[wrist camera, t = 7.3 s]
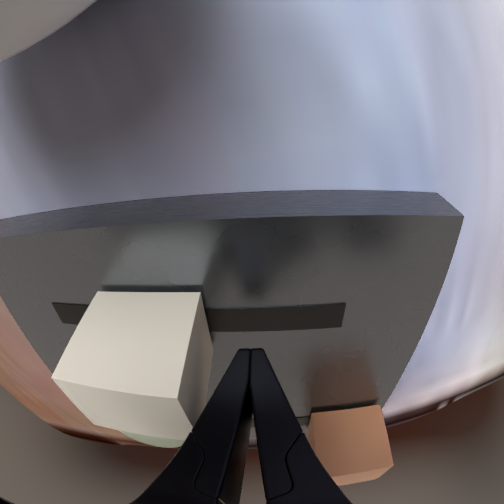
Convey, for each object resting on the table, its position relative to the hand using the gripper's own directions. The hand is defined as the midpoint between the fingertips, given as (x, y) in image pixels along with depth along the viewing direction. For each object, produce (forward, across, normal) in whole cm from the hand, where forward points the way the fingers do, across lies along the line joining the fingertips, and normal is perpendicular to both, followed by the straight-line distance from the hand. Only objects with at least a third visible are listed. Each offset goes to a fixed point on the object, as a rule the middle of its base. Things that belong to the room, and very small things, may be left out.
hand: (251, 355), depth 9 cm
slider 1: (+1, +4, 0) cm, 4 cm away
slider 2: (+1, -5, +9) cm, 10 cm away
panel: (+4, +3, +4) cm, 6 cm away
